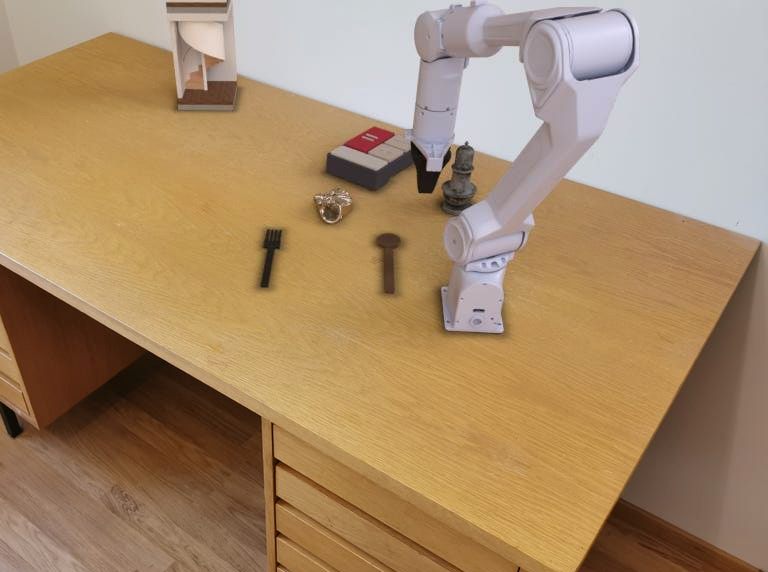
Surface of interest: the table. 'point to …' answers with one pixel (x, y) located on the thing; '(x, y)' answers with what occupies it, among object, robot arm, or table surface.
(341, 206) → the ornament
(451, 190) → the grey stone chess piece
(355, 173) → the calculator
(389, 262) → the brown disc-ended stick
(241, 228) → the table surface
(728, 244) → the table surface
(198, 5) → the spiral staircase model
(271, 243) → the black fork
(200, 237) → the table surface
